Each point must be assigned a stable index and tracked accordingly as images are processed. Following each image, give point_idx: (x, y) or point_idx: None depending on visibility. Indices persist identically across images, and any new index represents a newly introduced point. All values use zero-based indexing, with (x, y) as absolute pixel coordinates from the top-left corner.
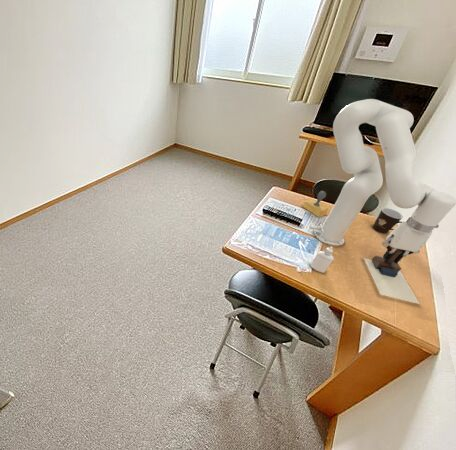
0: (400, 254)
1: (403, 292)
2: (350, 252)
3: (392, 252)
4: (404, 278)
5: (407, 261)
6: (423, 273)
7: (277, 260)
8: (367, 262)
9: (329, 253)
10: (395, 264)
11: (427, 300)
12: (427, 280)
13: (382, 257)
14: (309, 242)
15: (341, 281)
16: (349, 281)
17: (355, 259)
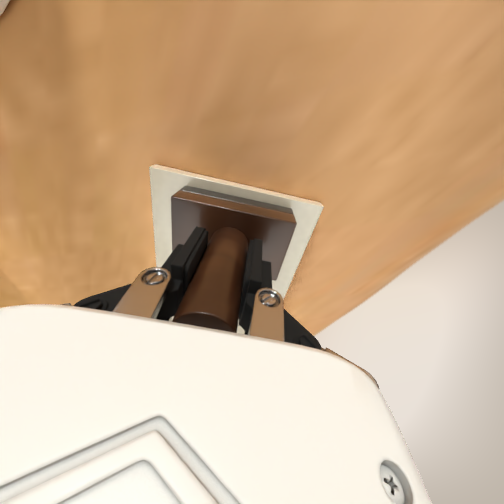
0: (241, 313)
1: (238, 326)
2: (91, 94)
3: (166, 319)
4: (291, 277)
5: (461, 132)
6: (443, 225)
7: None
8: (160, 202)
9: None
10: (264, 257)
11: (307, 330)
12: (408, 263)
13: (216, 207)
14: None
15: (57, 292)
16: (83, 290)
17: (116, 167)
